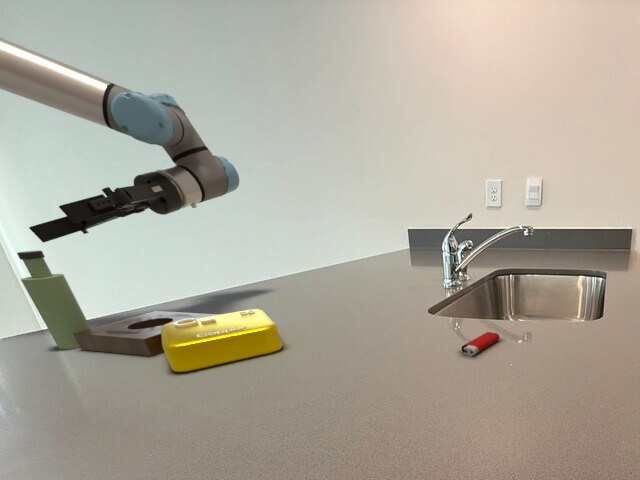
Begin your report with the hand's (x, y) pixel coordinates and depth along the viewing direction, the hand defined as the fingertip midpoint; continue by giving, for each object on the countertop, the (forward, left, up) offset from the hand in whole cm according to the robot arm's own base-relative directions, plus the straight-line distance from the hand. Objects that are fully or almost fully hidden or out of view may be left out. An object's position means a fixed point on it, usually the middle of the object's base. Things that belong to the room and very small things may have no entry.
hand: (50, 225), depth 69 cm
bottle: (+1, -5, -20) cm, 20 cm away
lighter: (+73, +7, -20) cm, 76 cm away
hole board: (+13, 0, -20) cm, 23 cm away
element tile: (+31, -2, -20) cm, 37 cm away
